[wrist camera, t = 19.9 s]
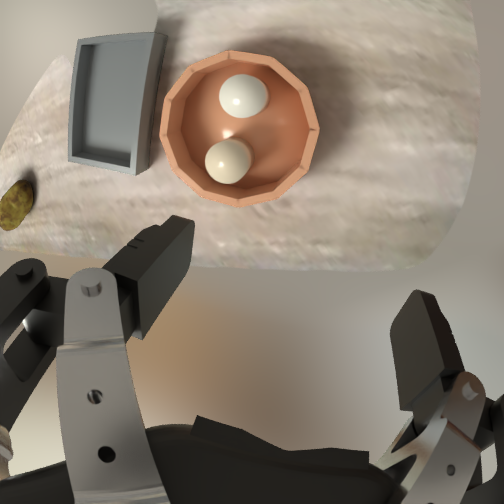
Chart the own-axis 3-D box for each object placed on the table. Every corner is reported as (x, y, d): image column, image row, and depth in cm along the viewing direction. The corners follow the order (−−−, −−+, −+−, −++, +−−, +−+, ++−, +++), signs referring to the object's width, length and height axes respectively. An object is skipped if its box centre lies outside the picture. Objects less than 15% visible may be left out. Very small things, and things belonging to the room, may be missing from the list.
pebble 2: (219, 133, 34) (208, 137, 31) (258, 141, 34) (251, 147, 30) (213, 170, 37) (202, 178, 33) (250, 179, 36) (242, 188, 33)
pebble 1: (234, 73, 30) (224, 70, 26) (274, 81, 29) (269, 79, 26) (225, 110, 32) (215, 112, 29) (265, 119, 32) (258, 122, 29)
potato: (45, 206, 48) (18, 223, 42) (23, 223, 53) (1, 239, 46) (30, 172, 45) (2, 186, 38) (10, 193, 49) (-14, 207, 43)
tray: (92, 40, 30) (77, 39, 27) (167, 35, 29) (154, 32, 26) (81, 155, 41) (68, 161, 38) (148, 169, 40) (135, 175, 37)
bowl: (191, 50, 30) (174, 45, 25) (332, 76, 28) (335, 72, 24) (171, 174, 39) (154, 185, 35) (295, 207, 38) (292, 223, 34)
